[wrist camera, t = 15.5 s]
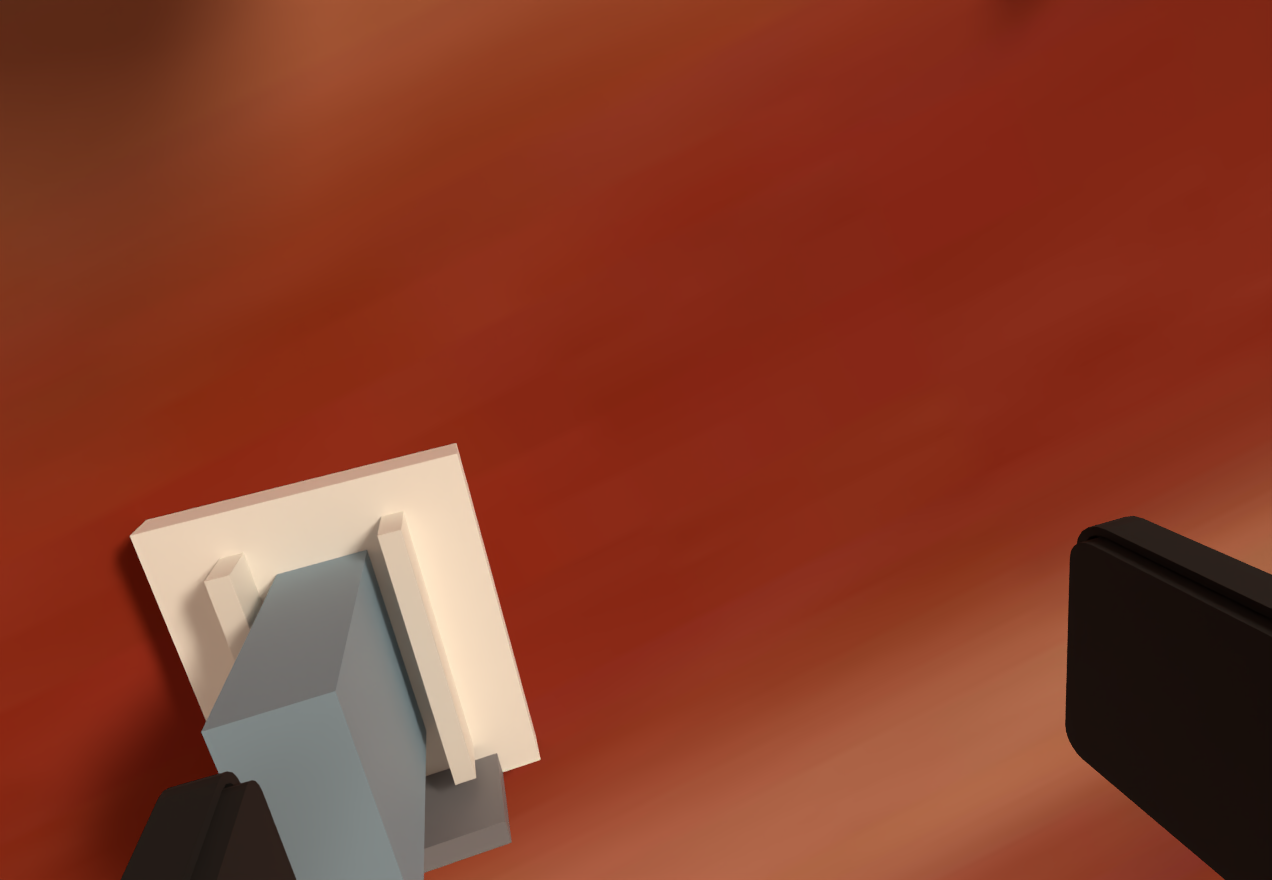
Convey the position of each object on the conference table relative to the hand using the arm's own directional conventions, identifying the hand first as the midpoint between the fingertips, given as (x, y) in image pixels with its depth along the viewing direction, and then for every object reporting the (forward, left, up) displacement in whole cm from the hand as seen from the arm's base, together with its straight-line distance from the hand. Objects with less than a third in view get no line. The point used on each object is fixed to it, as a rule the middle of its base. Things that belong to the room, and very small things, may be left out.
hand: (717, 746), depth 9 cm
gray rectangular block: (+12, -10, -28) cm, 32 cm away
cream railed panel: (+12, -10, -30) cm, 34 cm away
